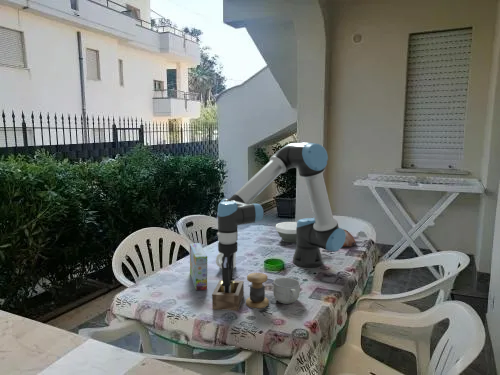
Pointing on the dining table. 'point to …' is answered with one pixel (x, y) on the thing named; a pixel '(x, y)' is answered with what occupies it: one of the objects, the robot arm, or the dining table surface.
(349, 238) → the bread
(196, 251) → the snack box
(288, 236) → the bowl
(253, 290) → the bobbin
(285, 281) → the teacup
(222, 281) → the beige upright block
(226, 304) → the open wooden crate
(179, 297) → the dining table surface
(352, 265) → the dining table surface
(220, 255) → the mug
